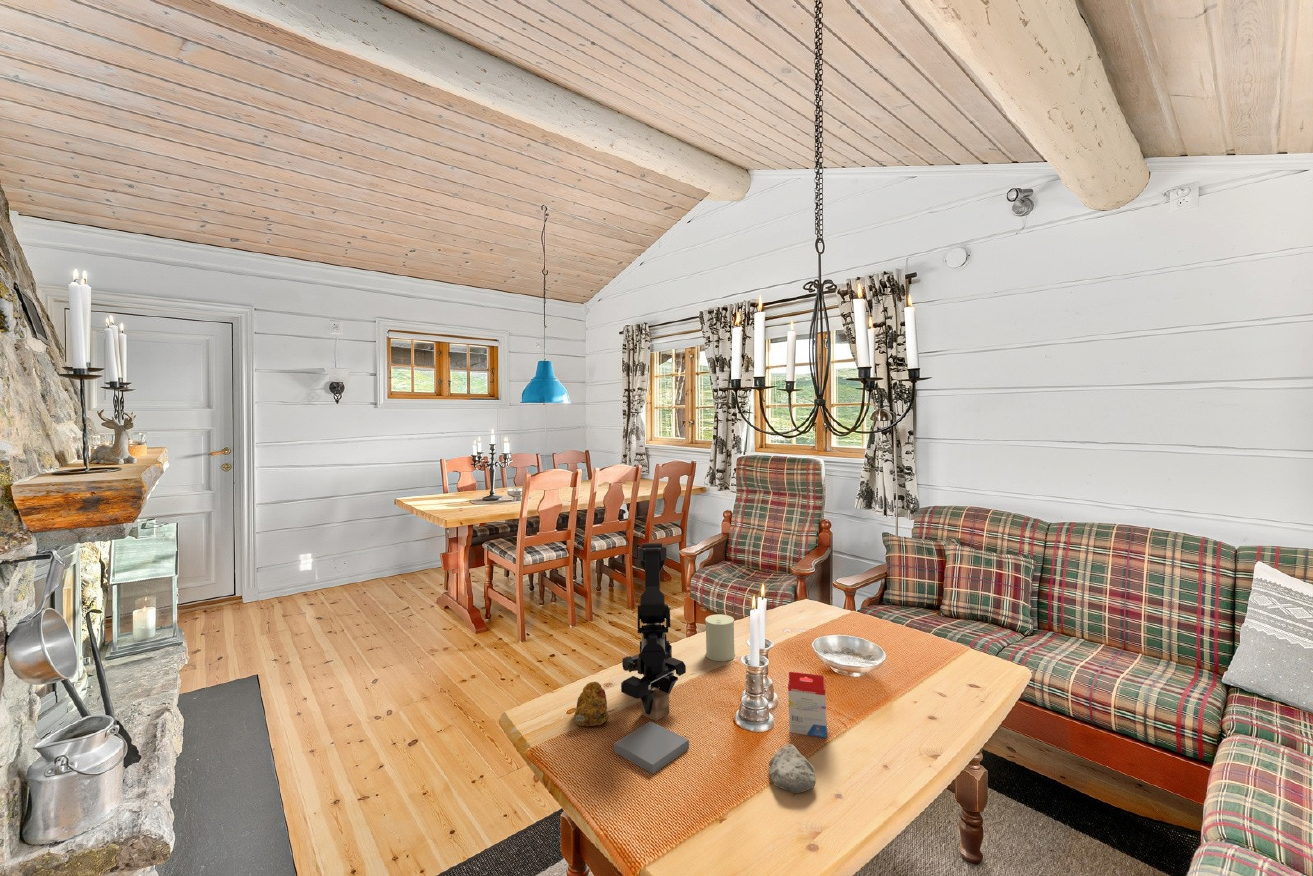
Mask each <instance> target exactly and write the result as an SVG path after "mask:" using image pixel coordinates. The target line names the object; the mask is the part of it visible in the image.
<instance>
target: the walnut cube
mask: <svg viewBox="0 0 1313 876" xmlns="http://www.w3.org/2000/svg"><path fill="white" fill-rule="evenodd" d="M651 690H653V691H655V693H654V698H653V704H652V709H651V713H650V714H649V715H648V714H646V712H645V709H644V706H643V704H642V701H641V700H640V701H641V702H640V703H641V706H640V707H641V715H642V714H643V715H642V716H644V717H646V718H648V719H651V720H652V719H653V720H652V721H655V722H657V721H659V720H661V719H662V718H664V717H665V716H666V715H669V714H670V694H668V693H666V692H663V691H661V690H659V688H655V687H653V688H651Z"/></svg>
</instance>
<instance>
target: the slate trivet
mask: <svg viewBox="0 0 1313 876" xmlns="http://www.w3.org/2000/svg"><path fill="white" fill-rule="evenodd" d="M613 744H614V745H613V750H614V751H613V752H614V753H615V754H617V755H619V756H620V757H622V758H623V759H626V760H628V761H629V762H631V763H632V764H635V765H636V766H638V767H640V768H641V769H644V770H645V771H647V772H648V773H651V774H652V775H653V774H655V773H657V772H658V771H660V770H661V769H662V768H664V767H665V766H667V765H668V764H669V763H671V762H672V761H673V760H675V759H676V758H678V757H679V756H681V755H682V754H684V753H685V752H686V751H687V750H689V749H690V739H689V738H686V737H684V736H682V735H680V734H678V733H676V732H674V731H672V730H670V729H667V728H665V727H663V726H661V725H659V724H657V723H655V722H653V721H652V720H650V721H649V722H647V723H645V724H644V725H642V726H640V727H638V728H637V729H635V730H634V731H632V732H631V733H629V734H627V735H626V736H624V737H622V738H620V739H618V740H617V741H616V742H614V743H613Z"/></svg>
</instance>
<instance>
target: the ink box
mask: <svg viewBox="0 0 1313 876" xmlns="http://www.w3.org/2000/svg"><path fill="white" fill-rule="evenodd" d="M826 686H827V685H826V680H825V676H824V675H821V674H814V673H808V672H807V673H805V672H804V673H803V672H795V671H788V683H787V689H788V692H787V693H788V721H789V722H788V726H789V727H788V728H789V732H790V733H791V734H792V733H793V734H798V735H805V736H811V737H812V736H813V737H817V738H825V739H826V738H827V729H828V728H827V725H828V722H827V718H828V717H827V689H826Z"/></svg>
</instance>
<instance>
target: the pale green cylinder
mask: <svg viewBox="0 0 1313 876" xmlns="http://www.w3.org/2000/svg"><path fill="white" fill-rule="evenodd" d="M705 645H706V647H705V656H706V658H707V659H709V660H711V661H714V662H728V661H731V660H733V659H734V658H735V657H736V652H735V618H734V617H733V616H730V615H728V614H711V615H710V614H709V615H708V616H706V617H705Z"/></svg>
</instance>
